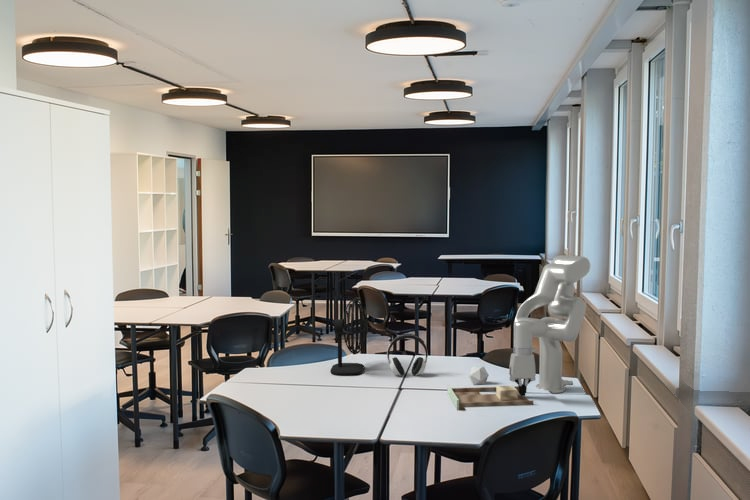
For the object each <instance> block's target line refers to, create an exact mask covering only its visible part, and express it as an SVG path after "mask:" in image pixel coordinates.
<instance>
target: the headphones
mask: <svg viewBox="0 0 750 500" xmlns="http://www.w3.org/2000/svg"><path fill="white" fill-rule="evenodd" d="M403 339H411V340H412V339H413V340H414V341H417V342H418V343H419V344H421V345H422V347H423V348H424V351H425V352H424V353H425V358H424V357H421V356H419V357H418V356H417V358H416V359H415V361H414V362H413V365H412V367H411V372H410V373H411V374H412V375H413V376H419V375H423V373H424V372H425V369H426V366H427V361H428V356H429V353H428V348H427V345H426V343H425V341H424V340H423V339H422V338H421V337H420V336H418V335H417V334H413V333H402V334H400V335H397V336H395V337H394V338H393V339H392V340H391V341H390V343H389V344H388V347H387V350H386V358H387V362H388V366H389V367H390V370H391V372H392V373H393V374H394V375H395V376H399V377H401V376H403V375H405V369H404V367H403V365H402V364H401V362H400V360H399V359H398V358H397V357H396V356H395V357H392V358H391V359H390V352H391V349H392V347H393V346H394V345H395V344H396V343H397V342H398V341H400V340H403Z"/></svg>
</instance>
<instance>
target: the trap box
mask: <svg viewBox="0 0 750 500" xmlns="http://www.w3.org/2000/svg"><path fill="white" fill-rule="evenodd" d="M513 386H514V387H515V388H516V389H517V400H500V399H499V398H498V397H497V396H496V393H493V394H492V393H486V394H482V393H481V392H496V386H485V387H484V386H482V387H455V388H453V387H451V389H452V390H453V392H454V393H455V395H456V396H457V398H458V399H459V410H458V411H463V410H464V411H465V410H466V408H472V407H474V408H475V407H504V406H505V407H506V406H533V405H534V400H530V399H529V398H528V397H526V395H525V396H524V395H523V396H521V395H520V394H519V392H518V385H517V386H515V385H513Z"/></svg>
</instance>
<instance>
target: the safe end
mask: <svg viewBox="0 0 750 500" xmlns="http://www.w3.org/2000/svg"><path fill="white" fill-rule="evenodd" d="M451 388H452V387H451V386H450V384H449V385H447V394H446V395H447V396H448V398H449V400H450V401H451V403H452V404H453V406H454V408H455V409H456V410H457V411H460V410H459V399H458V398H457V396H456V395H455V393H454V392H453V390H452V389H451Z"/></svg>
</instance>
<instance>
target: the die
mask: <svg viewBox="0 0 750 500" xmlns="http://www.w3.org/2000/svg"><path fill="white" fill-rule="evenodd" d="M468 378H469V380H470V381H471V383H472V385H473V386H485V385H486V383H487V381H488V378H489V373H488V371H487V370H486V368H485V366H472V367H471V370H470V372H469V376H468Z"/></svg>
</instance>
